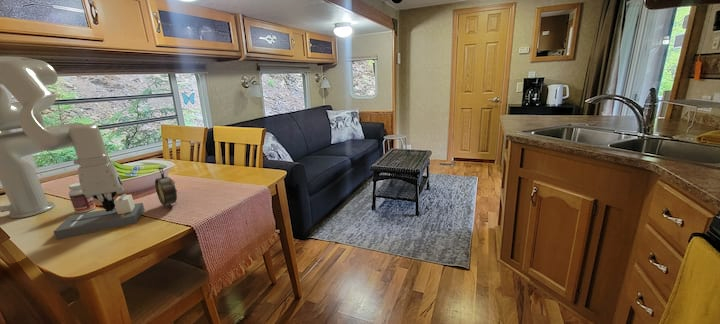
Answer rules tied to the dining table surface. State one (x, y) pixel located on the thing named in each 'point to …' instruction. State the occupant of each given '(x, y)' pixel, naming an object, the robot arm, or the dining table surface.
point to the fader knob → (124, 204)
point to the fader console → (97, 221)
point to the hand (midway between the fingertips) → (110, 209)
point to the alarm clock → (166, 190)
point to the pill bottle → (80, 199)
